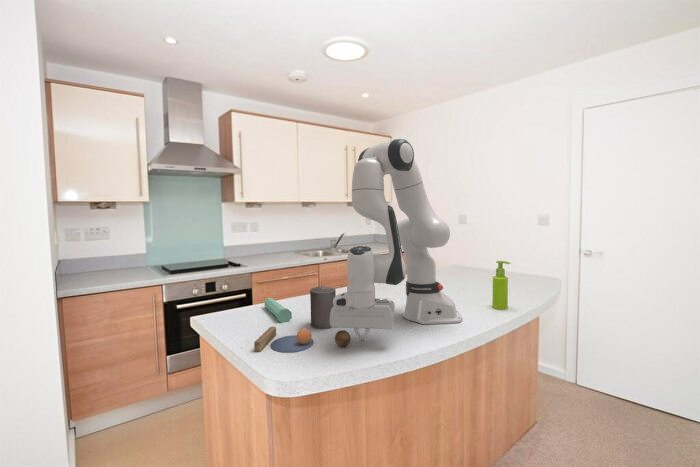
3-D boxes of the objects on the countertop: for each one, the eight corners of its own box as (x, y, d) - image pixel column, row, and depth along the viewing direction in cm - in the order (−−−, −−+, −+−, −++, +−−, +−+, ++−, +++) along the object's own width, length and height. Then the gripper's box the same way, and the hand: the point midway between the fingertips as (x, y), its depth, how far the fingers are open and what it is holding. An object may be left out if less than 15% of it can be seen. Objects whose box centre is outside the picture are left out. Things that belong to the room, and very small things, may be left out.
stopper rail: (276, 335, 124) (275, 326, 123) (260, 351, 110) (260, 342, 110) (270, 335, 124) (270, 326, 124) (254, 351, 110) (254, 342, 110)
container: (264, 294, 158) (280, 306, 136) (277, 297, 161) (294, 310, 139) (260, 307, 158) (275, 321, 136) (272, 310, 160) (289, 325, 138)
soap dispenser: (506, 311, 145) (506, 262, 143) (489, 307, 150) (490, 261, 148) (512, 308, 149) (513, 261, 147) (496, 304, 154) (497, 259, 152)
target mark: (318, 336, 122) (318, 335, 122) (307, 353, 108) (307, 352, 108) (279, 335, 123) (278, 334, 123) (263, 351, 110) (263, 351, 110)
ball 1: (298, 326, 118) (299, 341, 118) (293, 331, 113) (294, 347, 113) (312, 326, 117) (314, 341, 117) (308, 331, 112) (309, 346, 112)
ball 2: (334, 329, 115) (338, 344, 116) (332, 335, 110) (336, 350, 111) (349, 326, 115) (352, 341, 115) (347, 332, 110) (351, 347, 110)
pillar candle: (306, 324, 135) (305, 285, 133) (327, 318, 140) (326, 281, 139) (319, 331, 127) (318, 290, 125) (341, 325, 133) (340, 286, 131)
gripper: (394, 296, 113) (395, 338, 114) (331, 295, 116) (332, 336, 117) (394, 301, 107) (394, 346, 108) (327, 300, 109) (329, 343, 111)
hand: (362, 341), depth 112 cm, fingers closed
